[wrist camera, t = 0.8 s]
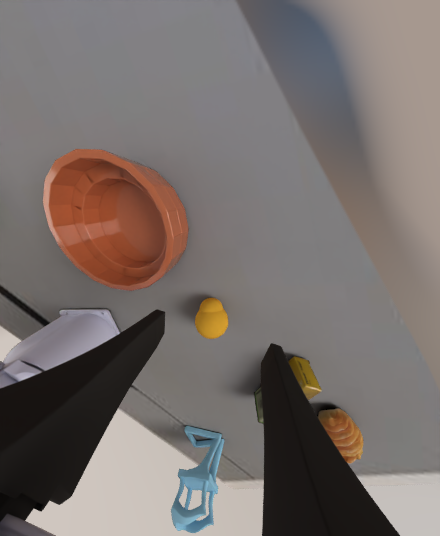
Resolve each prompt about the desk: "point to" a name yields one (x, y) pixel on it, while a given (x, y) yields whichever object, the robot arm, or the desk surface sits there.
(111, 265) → the bowl
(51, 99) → the desk surface
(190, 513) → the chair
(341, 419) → the pastry
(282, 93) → the desk surface
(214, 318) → the blob
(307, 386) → the medication box
